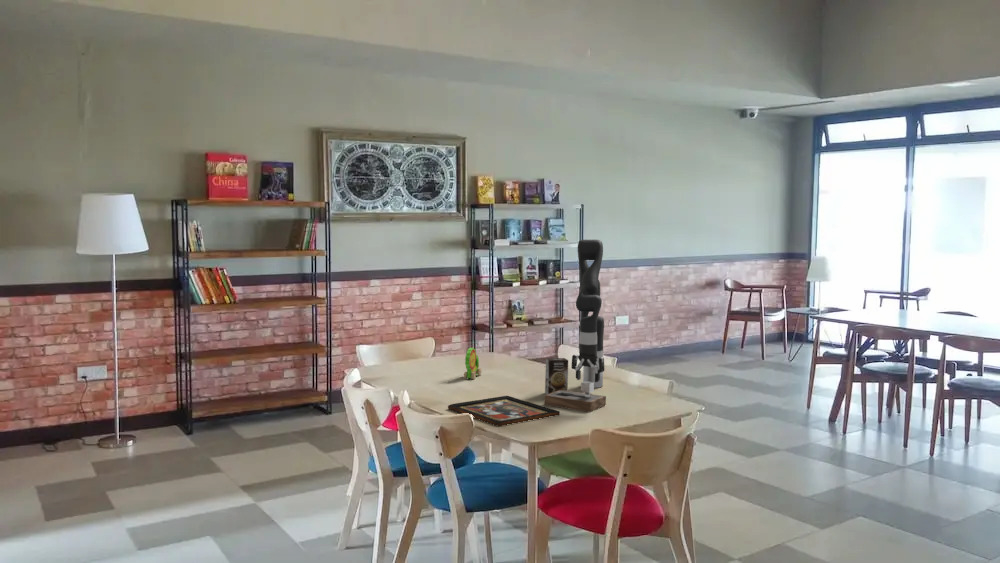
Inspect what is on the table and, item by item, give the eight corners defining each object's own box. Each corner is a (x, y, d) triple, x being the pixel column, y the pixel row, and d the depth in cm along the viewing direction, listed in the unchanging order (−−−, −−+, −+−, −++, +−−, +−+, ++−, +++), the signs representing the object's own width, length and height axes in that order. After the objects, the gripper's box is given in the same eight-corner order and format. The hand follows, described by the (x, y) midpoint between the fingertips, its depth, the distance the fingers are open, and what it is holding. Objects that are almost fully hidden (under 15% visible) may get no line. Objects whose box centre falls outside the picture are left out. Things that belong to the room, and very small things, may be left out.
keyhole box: (560, 398, 356) (560, 389, 356) (605, 405, 344) (605, 396, 344) (544, 404, 345) (544, 395, 344) (590, 411, 332) (590, 402, 332)
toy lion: (471, 374, 410) (471, 344, 409) (482, 375, 409) (482, 345, 408) (461, 380, 395) (462, 349, 394) (472, 381, 394) (472, 350, 392)
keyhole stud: (585, 402, 344) (585, 380, 343) (594, 404, 342) (594, 382, 341) (580, 404, 340) (580, 382, 340) (589, 406, 338) (589, 383, 337)
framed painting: (439, 411, 332) (440, 404, 332) (501, 399, 357) (501, 393, 357) (505, 430, 305) (505, 422, 305) (566, 416, 330) (566, 409, 329)
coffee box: (548, 396, 361) (548, 360, 360) (544, 393, 368) (545, 357, 366) (568, 395, 363) (568, 359, 362) (564, 392, 369) (564, 357, 368)
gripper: (607, 342, 338) (606, 381, 340) (577, 339, 346) (576, 377, 347) (599, 345, 332) (598, 384, 333) (568, 342, 340) (568, 380, 341)
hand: (587, 380), depth 340 cm, fingers open, 8 cm apart
